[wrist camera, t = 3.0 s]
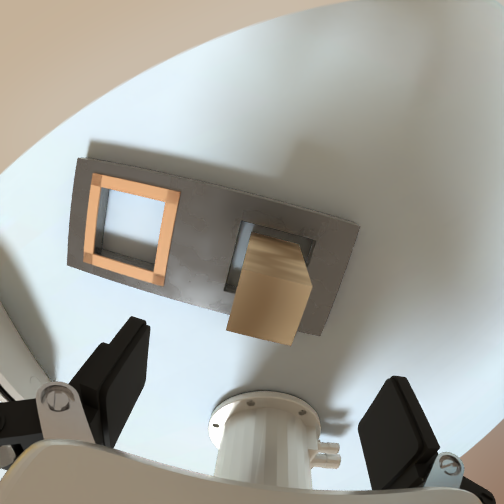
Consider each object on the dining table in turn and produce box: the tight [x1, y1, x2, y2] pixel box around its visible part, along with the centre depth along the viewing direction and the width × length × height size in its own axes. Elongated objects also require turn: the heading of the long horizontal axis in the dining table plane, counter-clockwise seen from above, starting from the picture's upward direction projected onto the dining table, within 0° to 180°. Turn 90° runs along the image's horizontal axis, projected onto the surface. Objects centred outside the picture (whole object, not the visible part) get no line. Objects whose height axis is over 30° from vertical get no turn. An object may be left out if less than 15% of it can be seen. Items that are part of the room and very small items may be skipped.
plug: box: [226, 232, 312, 346], centre depth 22 cm, size 4×4×9 cm
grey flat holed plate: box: [67, 157, 360, 336], centre depth 25 cm, size 24×10×2 cm, turn 76°
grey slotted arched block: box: [0, 301, 51, 402], centre depth 28 cm, size 17×5×10 cm, turn 25°
